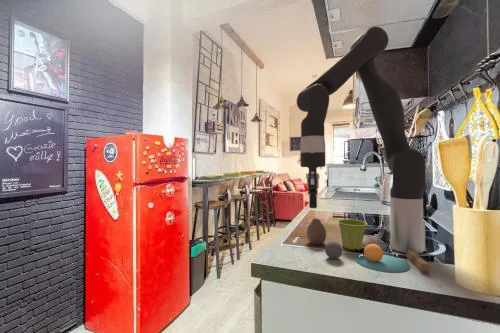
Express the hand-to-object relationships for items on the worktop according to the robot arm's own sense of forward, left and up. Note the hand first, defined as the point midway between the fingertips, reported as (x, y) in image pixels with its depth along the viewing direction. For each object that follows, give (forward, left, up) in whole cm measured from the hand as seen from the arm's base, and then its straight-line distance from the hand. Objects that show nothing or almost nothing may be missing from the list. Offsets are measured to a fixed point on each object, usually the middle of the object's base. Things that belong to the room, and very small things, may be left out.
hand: (313, 207), depth 77 cm
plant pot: (-17, -4, -15) cm, 23 cm away
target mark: (-16, +10, -15) cm, 24 cm away
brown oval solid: (-8, -11, -15) cm, 21 cm away
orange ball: (-14, +9, -12) cm, 21 cm away
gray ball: (-5, +3, -12) cm, 14 cm away
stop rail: (-23, +15, -15) cm, 32 cm away
